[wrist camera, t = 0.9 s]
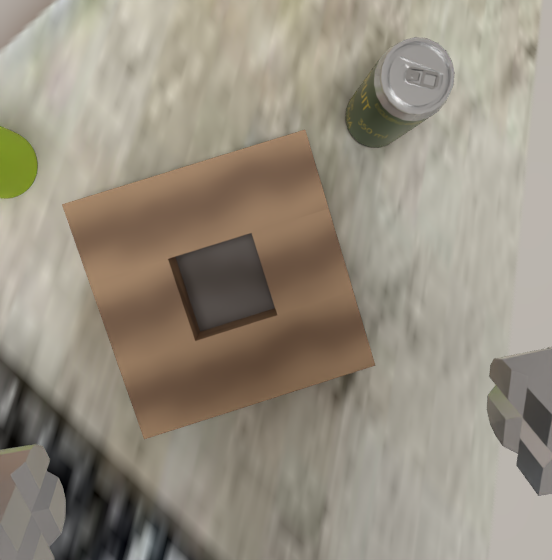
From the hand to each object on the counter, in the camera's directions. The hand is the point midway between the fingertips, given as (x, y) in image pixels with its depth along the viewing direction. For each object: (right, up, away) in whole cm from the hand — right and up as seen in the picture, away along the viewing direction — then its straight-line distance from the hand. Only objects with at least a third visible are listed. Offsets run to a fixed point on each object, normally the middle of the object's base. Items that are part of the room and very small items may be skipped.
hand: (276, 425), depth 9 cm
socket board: (-4, +2, +37) cm, 37 cm away
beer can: (+9, +17, +36) cm, 41 cm away
